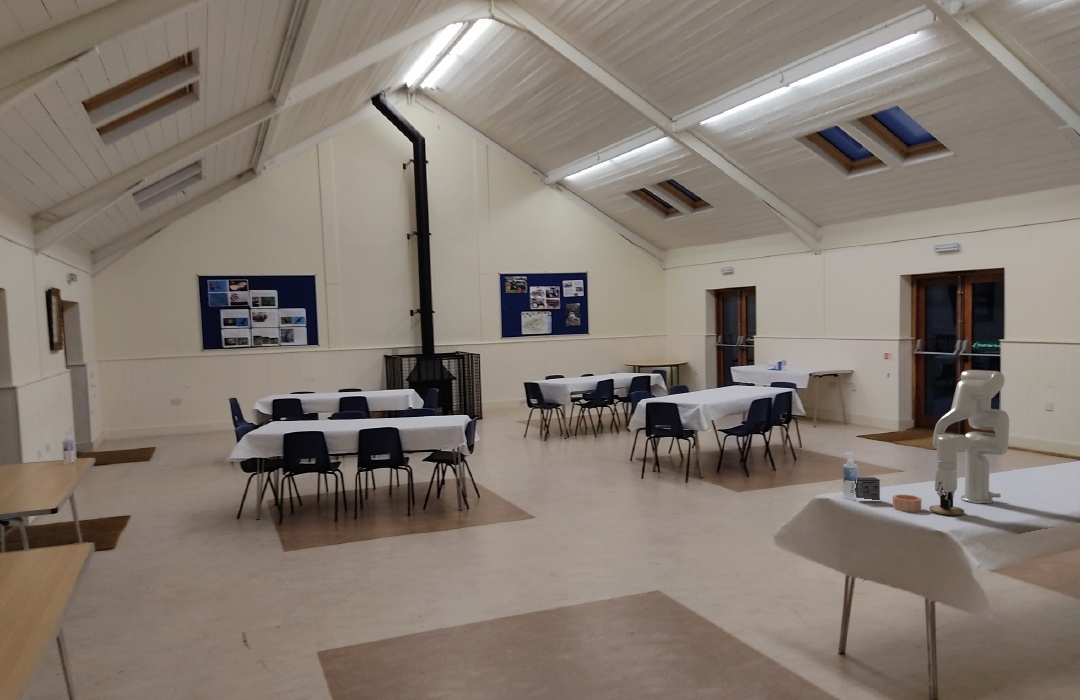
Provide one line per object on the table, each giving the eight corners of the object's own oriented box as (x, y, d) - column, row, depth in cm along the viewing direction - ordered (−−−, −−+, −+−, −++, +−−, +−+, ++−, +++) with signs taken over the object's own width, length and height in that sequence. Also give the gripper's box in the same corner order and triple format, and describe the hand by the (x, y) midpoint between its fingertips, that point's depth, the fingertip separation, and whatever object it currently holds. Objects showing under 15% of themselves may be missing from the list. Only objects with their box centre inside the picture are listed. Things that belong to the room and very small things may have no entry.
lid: (955, 507, 322) (955, 496, 322) (969, 515, 309) (969, 503, 309) (924, 506, 324) (924, 495, 324) (937, 514, 311) (937, 503, 311)
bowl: (915, 505, 328) (915, 494, 328) (925, 512, 317) (925, 500, 317) (889, 505, 329) (889, 494, 329) (898, 511, 318) (898, 500, 318)
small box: (874, 498, 342) (874, 476, 341) (880, 502, 335) (880, 479, 335) (851, 498, 342) (851, 476, 342) (856, 502, 336) (857, 479, 335)
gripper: (948, 461, 323) (947, 502, 324) (927, 466, 314) (927, 508, 315) (965, 464, 317) (965, 506, 318) (945, 469, 308) (945, 512, 309)
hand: (946, 507), depth 317 cm, fingers closed on lid, 3 cm apart
